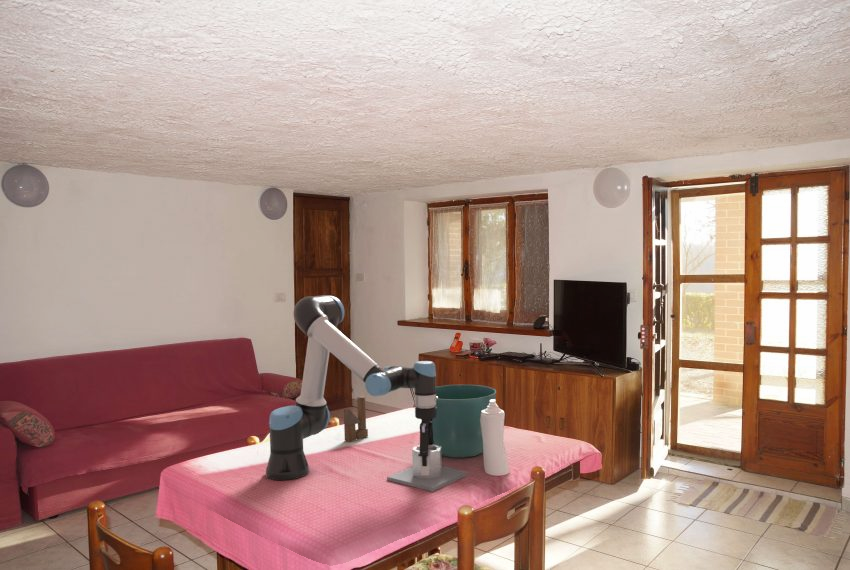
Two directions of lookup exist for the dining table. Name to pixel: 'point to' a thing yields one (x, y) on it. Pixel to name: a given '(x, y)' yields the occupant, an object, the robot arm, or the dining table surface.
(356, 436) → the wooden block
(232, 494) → the dining table surface
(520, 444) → the dining table surface
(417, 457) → the collar
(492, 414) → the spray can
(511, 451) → the dining table surface
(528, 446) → the dining table surface
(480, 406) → the flower pot
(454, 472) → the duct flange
